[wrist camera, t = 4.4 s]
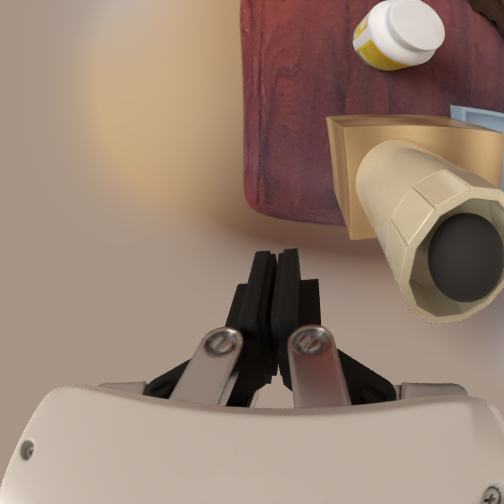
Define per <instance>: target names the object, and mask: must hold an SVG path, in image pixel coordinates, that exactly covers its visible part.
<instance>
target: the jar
mask: <svg viewBox="0 0 504 504" xmlns="http://www.w3.org/2000/svg"><path fill="white" fill-rule="evenodd" d="M356 194H357V198H358V201H359V203H360V205H361V207H362V209H363V211H364V213H365V215H366V217H367V219H368V221H369V223H370V225H371V227H372V229H373V231H374V233H375V235H376V237H377V239H378V241H379V243H380V245H381V247H382V250H383V252H384V254H385V256H386V258H387V260H388V263H389V265H390V267H391V270H392V272H393V274H394V277H395V279H396V281H397V284H398V286H399V289H400V291H401V294H402V296H403V299H404V301H405V304H406V306H407V309H408V311H409V312H410V313H412V314H414V315H416V316H418V317H419V318H421V319H423V320H426V321H427V322H429V323H433V324H438V323H447V322H456V321H460V320H464V319H465V318H467V317H469V316H471V315H472V314H474V313H476V312H477V311H479V310H481V309H483V308H484V307H486V306H487V305H488V303H489V304H490V303H491V301H493V299H494V298H495V297H496V296H497V295H498V294H499V292H500V291H501V290H502V289H503V287H504V269H503V273H502V276H501V278H500V280H499V282H498V284H497V285H496V286H495V288H494V289H493V290H492V291H491V292H490V293H489V294H488V295H487V296H485V297H484V298H482V299H480V300H477V301H474V302H458V301H455V300H452V299H450V298H448V297H447V296H445V295H444V294H443V293H442V292H441V291H440V290H439V289H438V288H437V286H436V285H435V283H434V281H433V279H432V277H431V274H430V271H429V266H428V250H429V245H430V242H431V239H432V237H433V235H434V233H435V231H436V230H437V228H438V227H439V226H440V225H441V224H442V223H443V222H444V221H445V220H446V219H448V218H450V217H451V216H454V215H456V214H460V213H473V214H477V215H479V216H482V217H484V218H485V219H487V220H488V221H489V222H490V223H491V224H492V225H493V226H494V227H495V228H496V230H497V231H498V233H499V235H500V237H501V239H502V242H503V246H504V192H503V191H502V190H501V189H499V188H498V187H496V186H495V185H493V184H491V183H490V182H488V181H487V180H485V179H484V178H482V177H480V176H479V175H477V174H475V173H473V172H469V171H467V170H465V169H463V168H461V167H460V166H458V165H456V164H454V163H453V162H451V161H449V160H447V159H445V158H444V157H442V156H440V155H438V154H436V153H434V152H432V151H430V150H428V149H426V148H424V147H422V146H420V145H418V144H416V143H414V142H411V141H408V140H403V139H393V140H388V141H384V142H382V143H380V144H378V145H377V146H375V147H374V148H372V149H371V150H370V151H369V152H368V153H367V154H366V155H365V157H364V158H363V160H362V162H361V164H360V166H359V168H358V171H357V175H356Z"/></svg>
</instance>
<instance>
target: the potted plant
mask: <svg viewBox="0 0 504 504" xmlns="http://www.w3.org/2000/svg"><path fill="white" fill-rule="evenodd" d="M469 2H470V4H471V6H472V10H475V11H479V12H482V13H483V14H484V15H485V16H486V17H487V18H488V19H489V20H495V22H496V24H497V26H498V29H499V31H500V33H501V34H502V35H503V36H504V0H469Z"/></svg>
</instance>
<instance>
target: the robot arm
mask: <svg viewBox="0 0 504 504" xmlns="http://www.w3.org/2000/svg"><path fill="white" fill-rule="evenodd" d="M278 364H279V369H280V375H281V376H282V378H283V383H284V385H285V386H286V387H287V388H288V389H290V390H291V391H292V392H293V400H294V409H272V408H271V409H270V408H255V405H256V402H257V399H258V397H259V389H260V388H262V387H263V386H264V385H266V384H271V380H272V376H276V375H277V371H278ZM0 504H504V418H503V416H502V415H501V413H500V412H499V410H498V409H497V408H496V407H495V406H494V405H493V404H492V403H489V402H488V401H486V400H483V399H480V398H476V397H471V396H468V393H467V391H466V390H465V389H464V388H463V387H462V386H460V385H458V384H452V383H451V384H450V383H449V384H433V383H430V384H429V383H402V384H401V385H392V384H391V383H390V382H389V381H388V380H386V379H385V378H383V377H381V376H380V375H378V374H377V373H375V372H374V371H372V370H370V369H369V368H367V367H365V366H364V365H362V364H361V363H359V362H358V361H356V360H354V359H353V358H351V357H350V356H348V355H347V354H345V353H343V352H342V351H340V350H339V349H337V348H336V345H335V341H334V338H333V335H332V333H331V332H330V331H329V330H328V329H327V328H325V327H323V326H321V313H320V297H319V283H318V279H310V280H301V275H300V265H299V256H298V249H297V248H296V249H284V253H279V257H278V264H277V260H276V255H275V254H271V253H270V251H258V252H256V253H255V257H254V261H253V265H252V269H251V273H250V276H249V280H248V284H238V286H237V289H236V292H235V295H234V298H233V302H232V305H231V308H230V311H229V315H228V318H227V321H226V325H225V327H222V328H217V329H215V330H212V331H210V332H209V333H208V334H207V335H205V337H204V338H203V339H202V341H201V343H200V344H199V346H198V348H197V350H196V351H195V353H194V355H193V357H192V358H191V359H189V360H188V361H186V362H184V363H182V364H181V365H179V366H177V367H175V368H174V369H172V370H170V371H168V372H167V373H165V374H163V375H161V376H159V377H158V378H156V379H154V380H153V381H151V382H150V383H149V384H147V383H146V382H128V383H104V384H101V385H99V386H91V385H70V386H63V387H59V388H56V389H54V390H52V391H51V392H49V393H48V394H47V395H46V397H45V398H44V399H43V400H42V402H41V403H40V404H39V406H38V407H37V409H36V410H35V412H34V414H33V415H32V417H31V419H30V421H29V422H28V424H27V426H26V428H25V430H24V432H23V434H22V436H21V438H20V440H19V442H18V444H17V446H16V449H15V451H14V453H13V456H12V458H11V460H10V463H9V465H8V468H7V470H6V473H5V475H4V478H3V481H2V484H1V487H0Z"/></svg>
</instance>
